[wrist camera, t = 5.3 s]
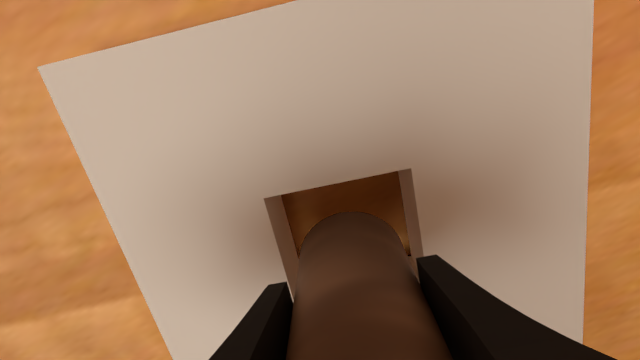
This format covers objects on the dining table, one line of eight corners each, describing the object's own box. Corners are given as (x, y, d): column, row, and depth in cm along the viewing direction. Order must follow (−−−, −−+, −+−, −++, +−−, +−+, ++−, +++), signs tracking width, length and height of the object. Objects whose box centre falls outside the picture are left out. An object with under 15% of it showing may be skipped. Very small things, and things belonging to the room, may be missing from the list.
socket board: (533, -42, 12) (596, -77, 9) (539, 333, 18) (581, 383, 15) (97, 68, 14) (36, 67, 11) (226, 381, 19) (208, 436, 16)
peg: (403, 207, 12) (545, 457, 4) (403, 298, 13) (511, 614, 5) (294, 215, 12) (241, 468, 4) (305, 304, 13) (278, 619, 6)
